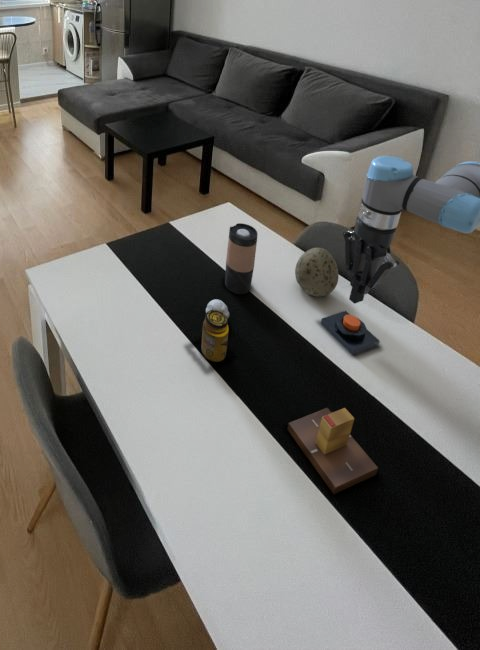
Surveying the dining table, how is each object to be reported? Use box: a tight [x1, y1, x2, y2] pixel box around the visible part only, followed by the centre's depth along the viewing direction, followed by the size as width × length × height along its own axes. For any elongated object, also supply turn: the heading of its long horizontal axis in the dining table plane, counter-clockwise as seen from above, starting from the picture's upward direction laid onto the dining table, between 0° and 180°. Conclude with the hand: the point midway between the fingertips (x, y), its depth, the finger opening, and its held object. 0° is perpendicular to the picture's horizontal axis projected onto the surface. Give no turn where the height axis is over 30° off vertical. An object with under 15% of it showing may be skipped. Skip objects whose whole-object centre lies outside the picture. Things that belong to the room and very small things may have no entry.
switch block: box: [320, 310, 380, 356], centre depth 109 cm, size 10×8×4 cm
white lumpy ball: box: [205, 298, 230, 320], centre depth 115 cm, size 6×7×7 cm
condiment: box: [200, 310, 230, 363], centre depth 105 cm, size 7×8×12 cm
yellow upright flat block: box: [316, 407, 355, 455], centre depth 83 cm, size 6×2×8 cm, turn 106°
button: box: [343, 314, 361, 331], centre depth 108 cm, size 4×4×2 cm
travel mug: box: [224, 222, 258, 295], centre depth 124 cm, size 8×8×20 cm
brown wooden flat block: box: [287, 407, 379, 495], centre depth 85 cm, size 12×10×3 cm
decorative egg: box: [294, 247, 339, 298], centre depth 121 cm, size 11×11×15 cm
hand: (355, 299), depth 106 cm, fingers closed
